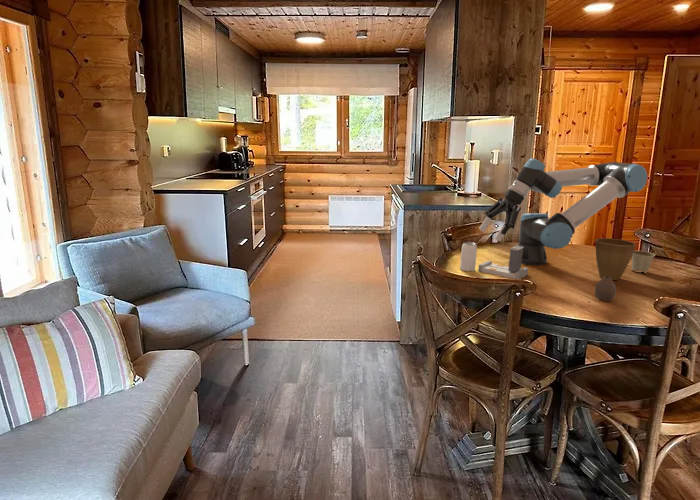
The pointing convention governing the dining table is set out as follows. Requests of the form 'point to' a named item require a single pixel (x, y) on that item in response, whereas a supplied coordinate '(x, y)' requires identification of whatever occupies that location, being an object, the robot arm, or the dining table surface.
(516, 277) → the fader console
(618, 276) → the plant pot
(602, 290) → the vase
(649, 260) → the flower pot
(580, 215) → the robot arm
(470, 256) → the can
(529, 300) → the dining table surface
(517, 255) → the fader tab
